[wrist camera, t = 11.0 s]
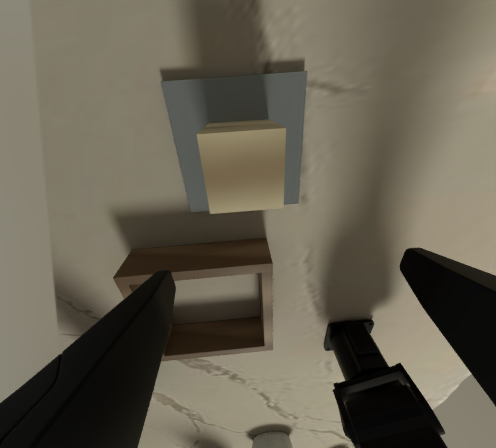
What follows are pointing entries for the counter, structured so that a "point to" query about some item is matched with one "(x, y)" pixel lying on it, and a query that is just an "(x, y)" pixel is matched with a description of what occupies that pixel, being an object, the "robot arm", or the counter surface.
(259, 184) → the maple block
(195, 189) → the pad
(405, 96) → the counter surface
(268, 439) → the ramekin
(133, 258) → the box
